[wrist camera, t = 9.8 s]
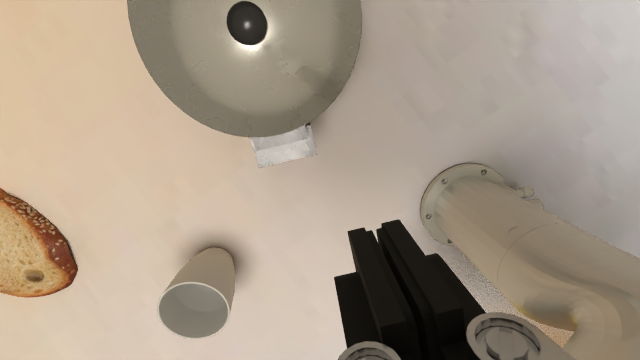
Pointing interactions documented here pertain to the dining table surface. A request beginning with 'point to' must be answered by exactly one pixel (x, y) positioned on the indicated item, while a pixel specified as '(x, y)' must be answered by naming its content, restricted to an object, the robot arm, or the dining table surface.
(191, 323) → the cup
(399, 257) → the robot arm
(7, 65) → the dining table surface
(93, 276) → the dining table surface
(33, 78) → the dining table surface
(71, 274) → the slice of bread
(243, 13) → the lid
